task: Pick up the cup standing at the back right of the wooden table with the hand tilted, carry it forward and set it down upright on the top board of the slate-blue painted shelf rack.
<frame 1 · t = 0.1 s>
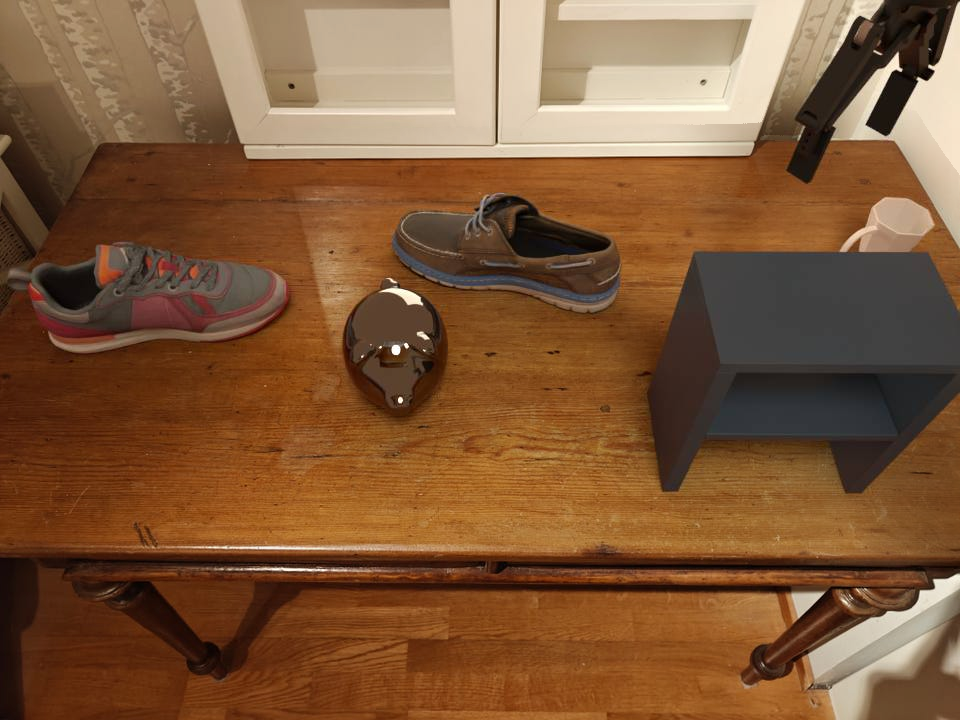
hand: (839, 152, 76), 17 cm above the table, tool pointing down, fingers open, 13 cm apart
shelf: (748, 440, 74), on the table
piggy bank: (401, 382, 79), on the table
cup: (862, 267, 89), on the table
boat shoe: (504, 269, 90), on the table
sneaker: (177, 320, 85), on the table
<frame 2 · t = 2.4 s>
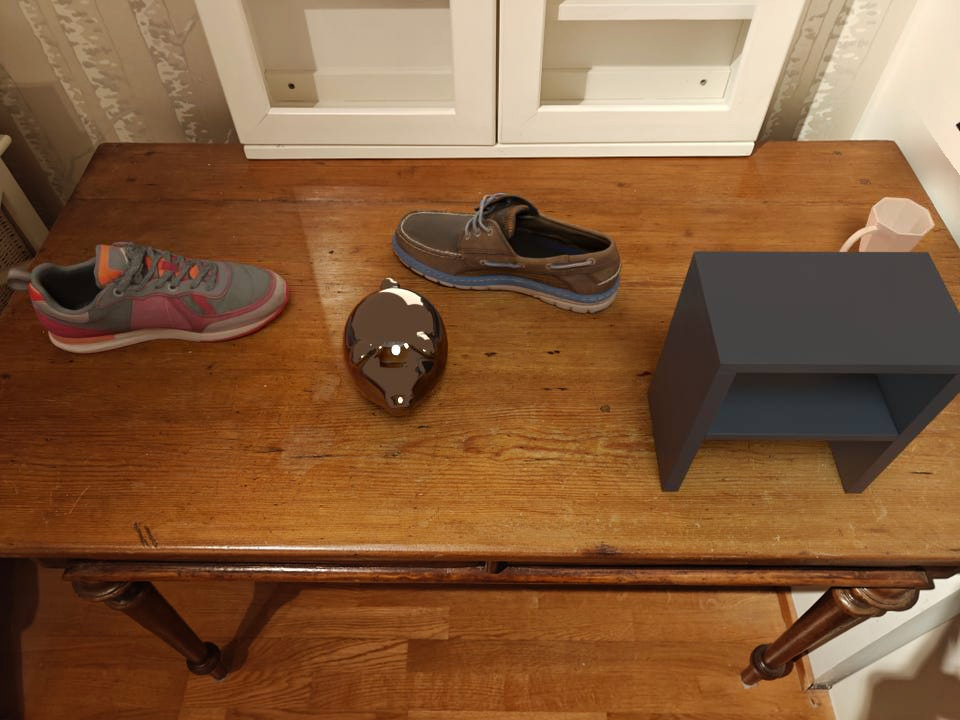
nothing on the table moved.
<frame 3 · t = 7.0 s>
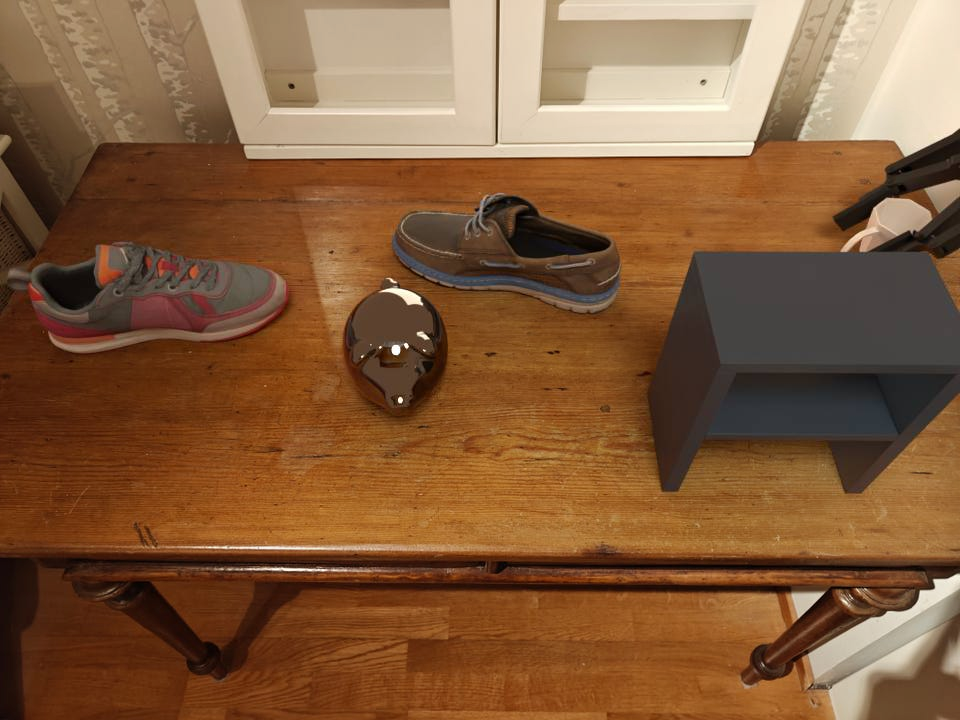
hand: (847, 244, 86), 4 cm above the table, tool tilted 45°, fingers closed on cup, 7 cm apart
cup: (863, 266, 89), on the table, touching gripper
everything else where it was.
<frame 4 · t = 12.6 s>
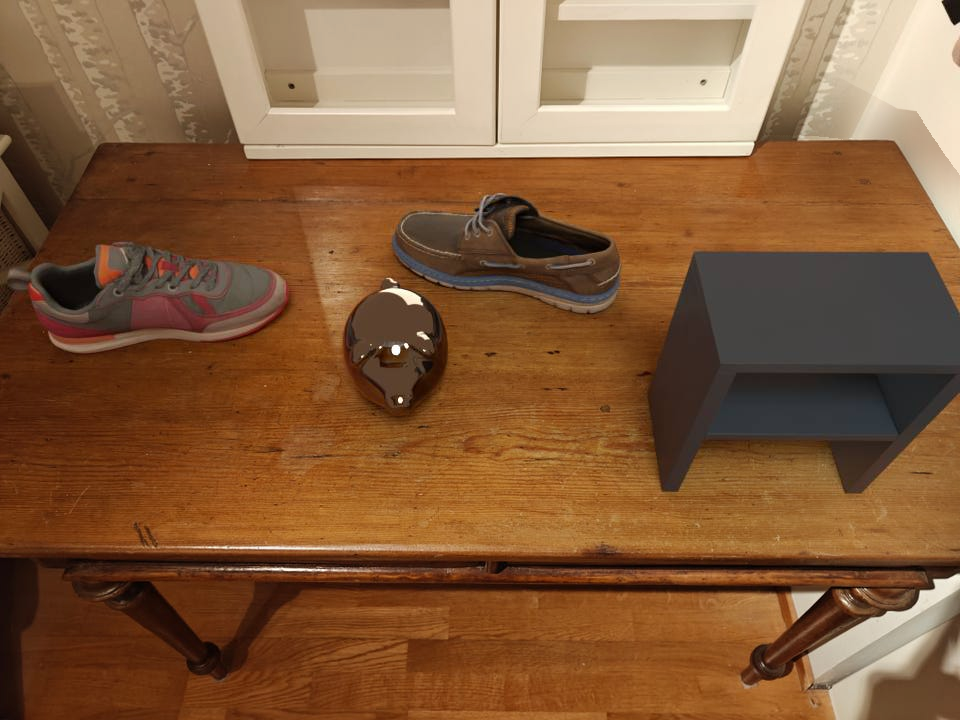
when the fingers open (26 cm above the table, at t = 18.5 s): cup stays where it is, resting on shelf.
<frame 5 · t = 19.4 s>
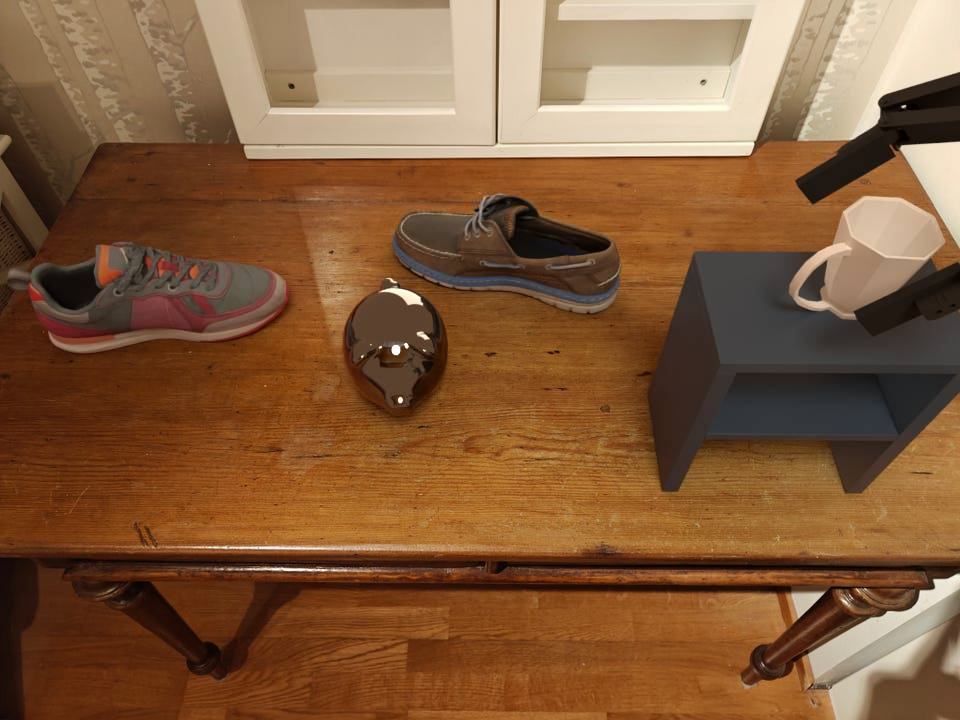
hand: (830, 253, 52), 28 cm above the table, tool tilted 45°, fingers open, 13 cm apart
cup: (830, 306, 57), point 22 cm above the table, touching shelf
everything else where it was.
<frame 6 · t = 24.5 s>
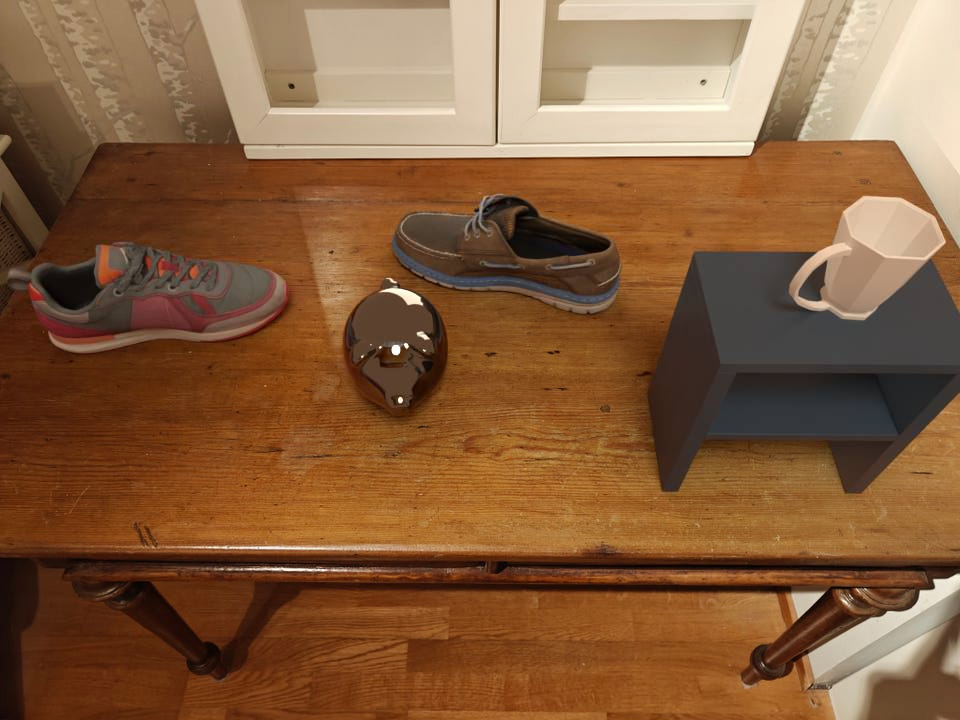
nothing on the table moved.
at the end: cup inside the target area on the shelf (0.1 cm from its centre), point 21.8 cm above the shelf's base; cup tilted 0°; the gripper is holding nothing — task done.
